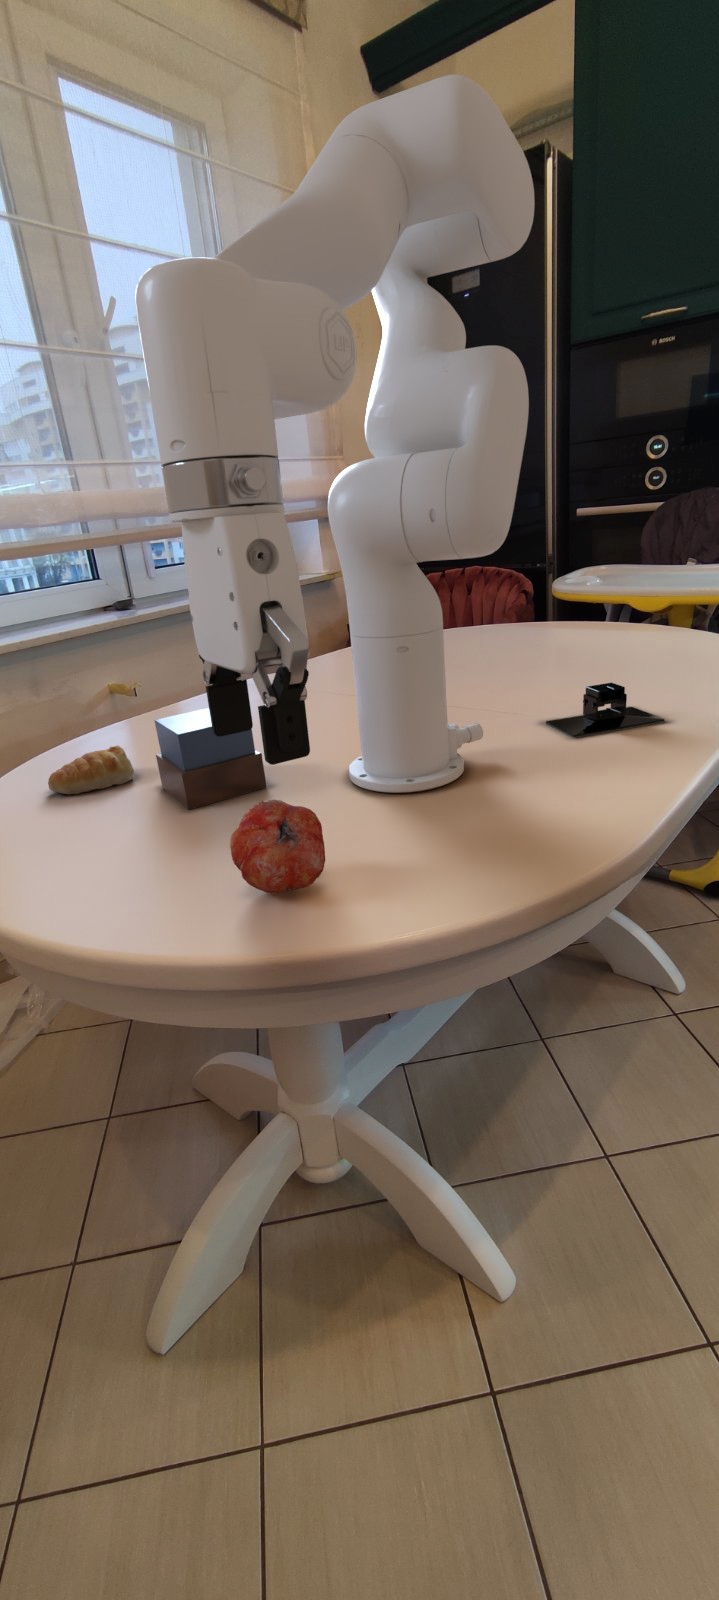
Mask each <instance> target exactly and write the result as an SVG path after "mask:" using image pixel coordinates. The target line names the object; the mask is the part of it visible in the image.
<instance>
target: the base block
mask: <svg viewBox="0 0 719 1600" xmlns="http://www.w3.org/2000/svg"><path fill="white" fill-rule="evenodd" d="M155 758H156V762H157V768H158V773H159V778H160V781H161V787H162V788H163V789H164V790H165V791H166V792H167V793H169V795H171V796H172V797H173V798H174V799H176V800H177V801H178V802H179V803H180V804H181V805H183V807H185V808H186V809H187V810H193V809H196V808H200V807H204V806H207V805H211V804H213V803H217V802H221V801H224V800H227V799H231V798H234V797H238V796H242V795H245V794H248V793H252V792H256V791H259V790H262V789H266V788H267V782H266V773H265V767H264V760H263V754H262V752H260V751H258V750H257V749H255V753H253V754H250V755H246V756H242V757H238V758H234V759H231V760H227V761H223V762H219V763H215V764H211V765H208V766H204V767H200V768H196V769H192V770H188V771H184V770H182V769H181V768H180V767H178V766H177V765H175V764H174V763H173V762H171V761H170V760H169V759H167V758H166V757H164V756H163V755H162V754H161V752H160V753H157V754H155Z"/></svg>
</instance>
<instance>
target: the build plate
mask: <svg viewBox="0 0 719 1600" xmlns="http://www.w3.org/2000/svg"><path fill="white" fill-rule="evenodd" d="M627 697H628V694H627V693H626V687H625V686H623V685H620V684H618V683H615V682H607V683H600V684H594V685H588V686H585V693H584V694H583V699H582V714H579V715H573V716H568V717H561V718H556V719H549V720H545V725H547V726H549V727H551V728H553V729H555V730H557V731H559V732H561V733H563V734H565V735H567V736H569V737H571V738H575V739H576V738H581V737H586V736H592V735H597V734H598V735H599V734H603V733H610V732H615V731H621V730H627V729H632V728H638V727H643V726H649V725H654V724H660V723H661V724H662V723H664V722H666V721H665V719H666V718H663V717H661V716H658V715H655V714H653V713H650V712H648V711H644V710H643V709H639V708H637V707H633V706H627V702H628V701H627V700H628V698H627ZM605 705H610V707H606V708H605V709H600V710H599V708H601V707H602V708H603V707H605Z"/></svg>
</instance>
